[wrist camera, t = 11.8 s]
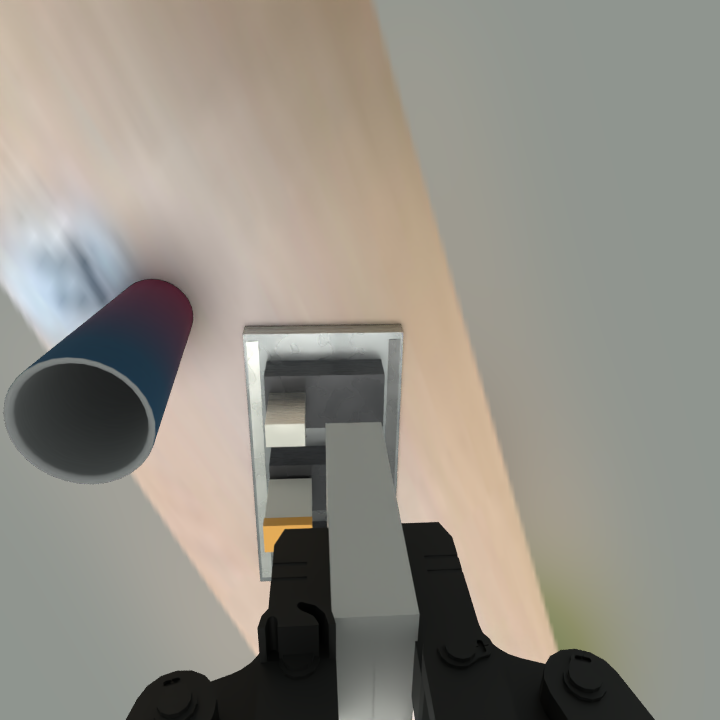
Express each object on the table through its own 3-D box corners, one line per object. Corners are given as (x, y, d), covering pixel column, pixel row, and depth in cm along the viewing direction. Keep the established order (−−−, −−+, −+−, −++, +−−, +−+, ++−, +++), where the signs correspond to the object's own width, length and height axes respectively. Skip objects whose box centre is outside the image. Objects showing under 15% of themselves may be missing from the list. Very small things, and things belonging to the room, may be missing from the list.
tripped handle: (268, 478, 43) (263, 526, 39) (312, 477, 43) (312, 524, 39) (269, 503, 44) (264, 552, 39) (312, 501, 44) (312, 550, 40)
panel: (245, 326, 43) (230, 377, 35) (400, 324, 44) (418, 374, 36) (261, 568, 52) (253, 649, 44) (390, 563, 53) (402, 642, 45)
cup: (125, 367, 43) (39, 496, 30) (89, 277, 41) (-24, 374, 27) (218, 348, 43) (174, 469, 30) (189, 256, 41) (126, 343, 27)
